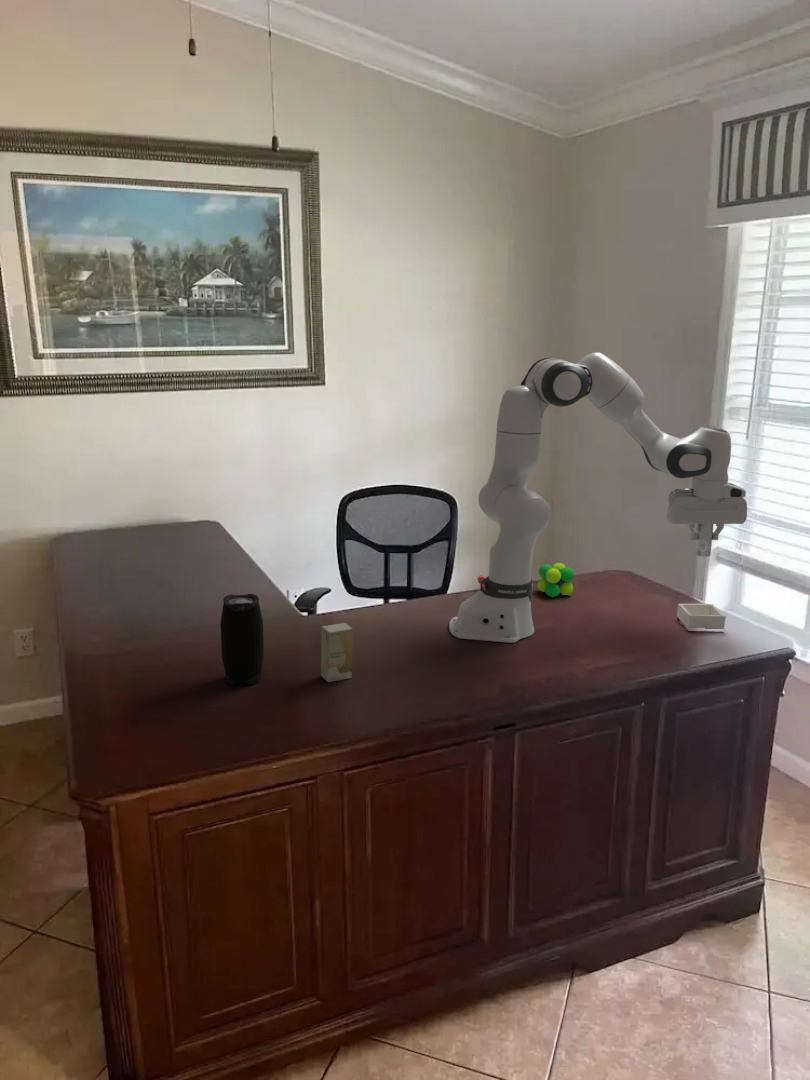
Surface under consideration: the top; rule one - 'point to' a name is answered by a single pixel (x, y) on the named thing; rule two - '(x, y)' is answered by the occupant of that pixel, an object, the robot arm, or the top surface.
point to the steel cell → (704, 539)
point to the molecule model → (555, 579)
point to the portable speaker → (242, 639)
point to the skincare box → (336, 652)
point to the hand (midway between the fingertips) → (704, 539)
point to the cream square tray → (701, 616)
